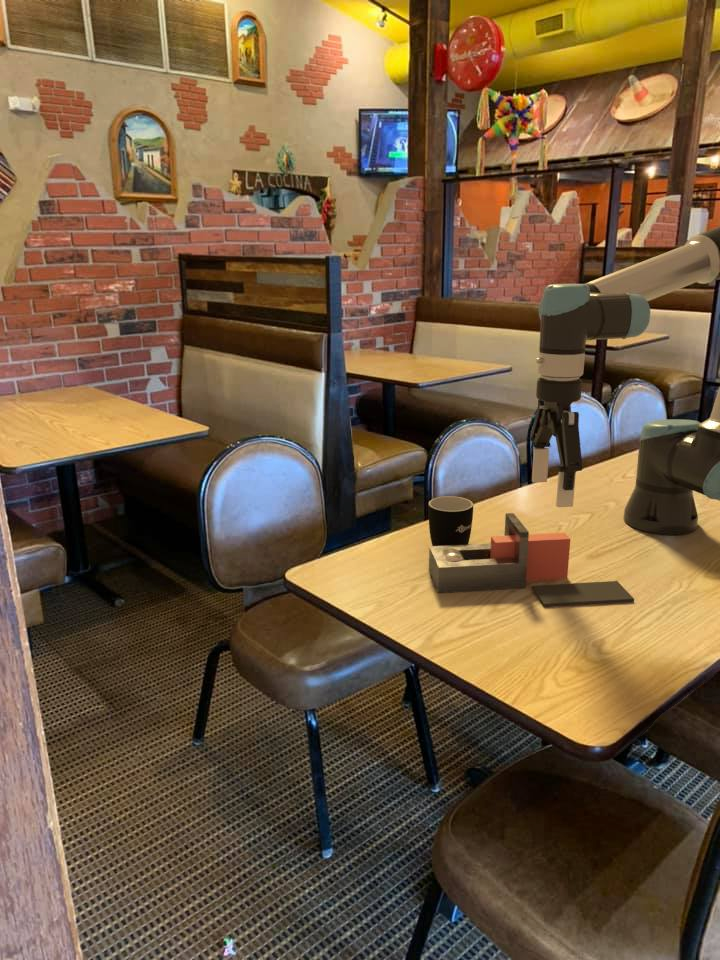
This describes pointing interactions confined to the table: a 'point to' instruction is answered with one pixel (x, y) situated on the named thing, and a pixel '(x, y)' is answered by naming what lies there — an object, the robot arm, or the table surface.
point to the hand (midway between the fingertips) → (551, 493)
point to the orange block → (537, 554)
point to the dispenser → (480, 564)
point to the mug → (450, 520)
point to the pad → (581, 593)
